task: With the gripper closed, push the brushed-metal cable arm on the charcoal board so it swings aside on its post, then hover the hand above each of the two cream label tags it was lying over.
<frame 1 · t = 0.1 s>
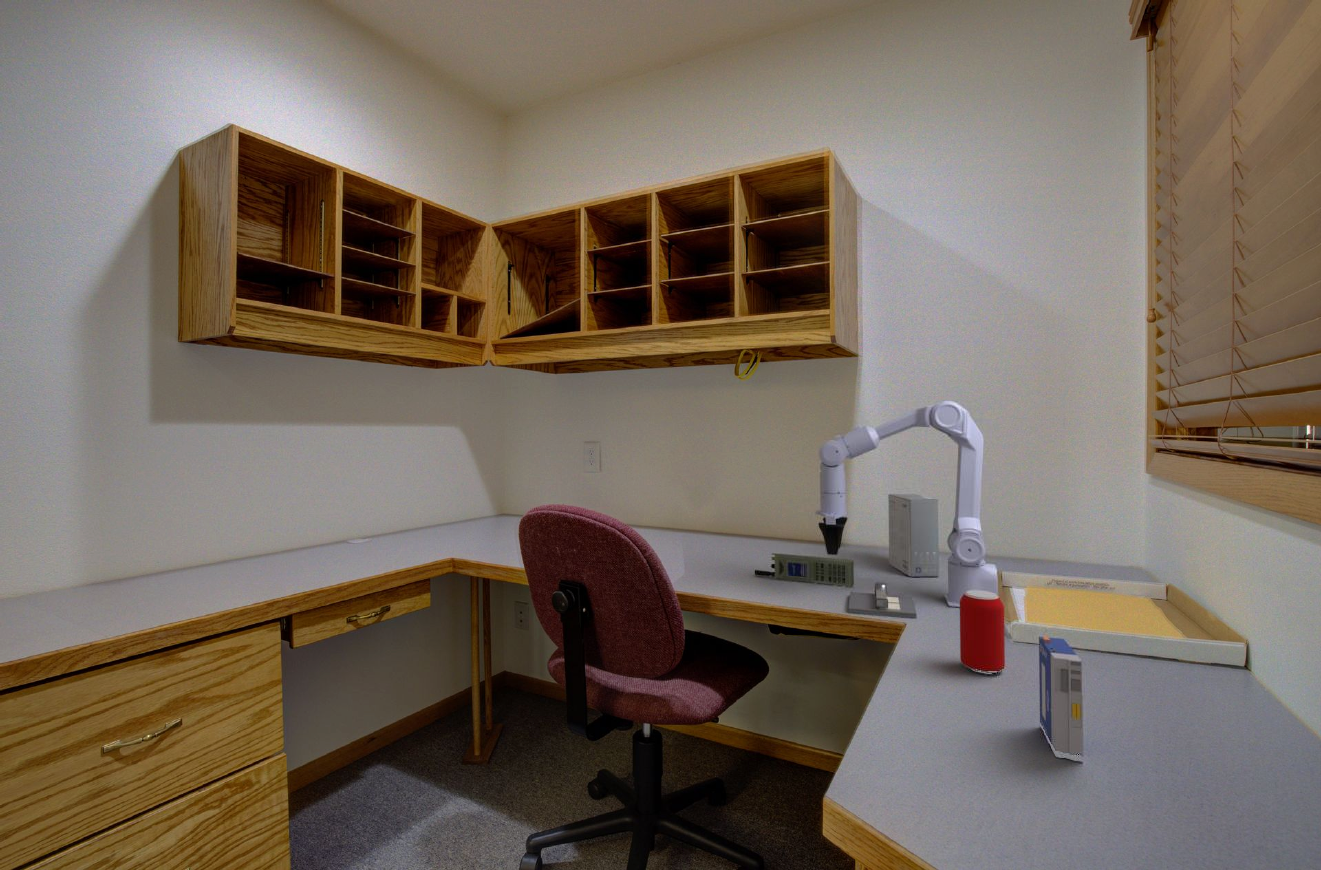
hand: (833, 551, 138), 10 cm above the table, tool pointing down, fingers open, 7 cm apart
cable arm: (881, 594, 128), point 3 cm above the table, hinge at 0.0°
walkman: (1060, 745, 72), on the table
hard drive box: (912, 571, 160), on the table
beverage can: (982, 670, 95), on the table
handheld radio: (802, 582, 151), on the table
label board: (881, 606, 128), on the table
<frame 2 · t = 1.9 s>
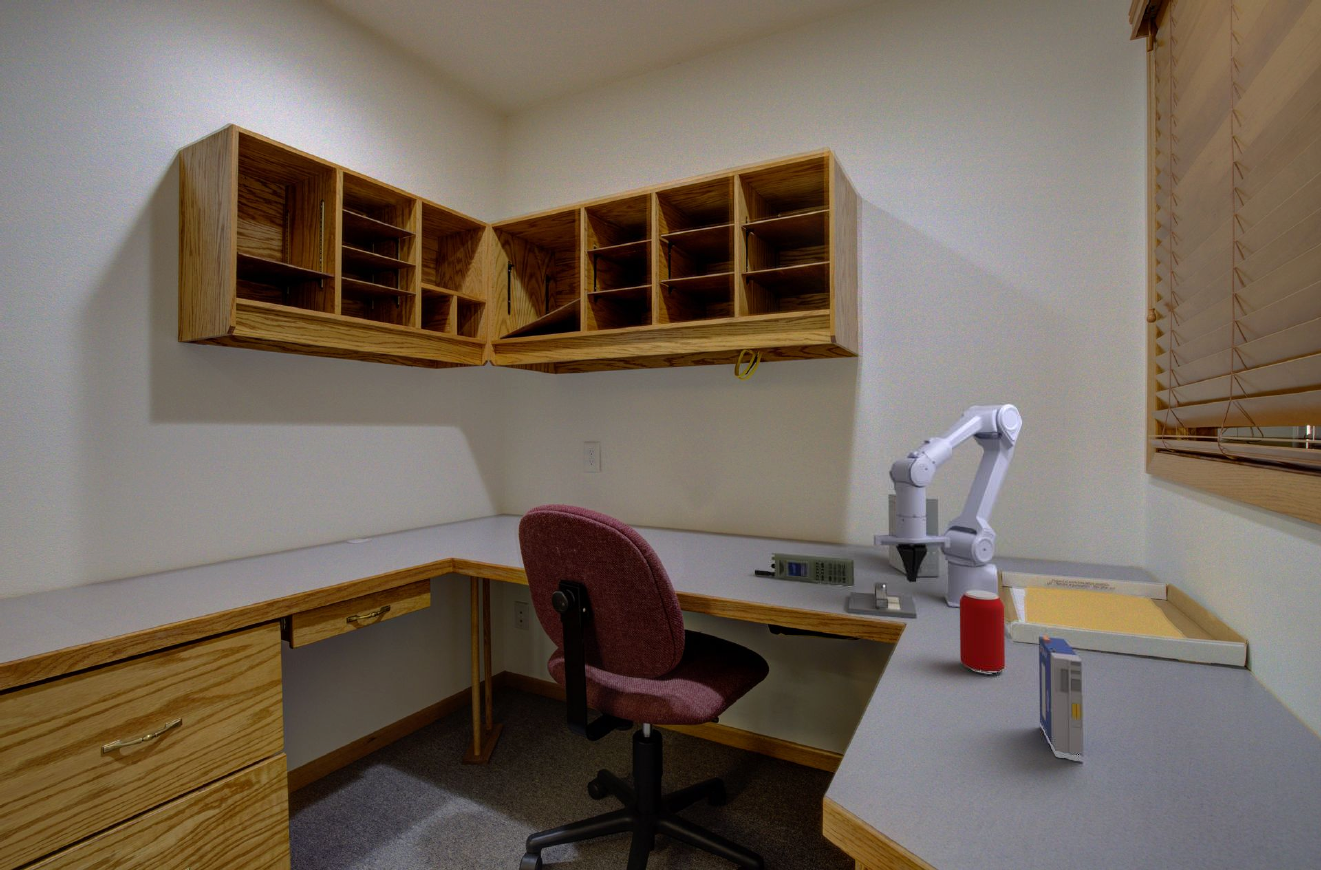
hand: (911, 580, 124), 6 cm above the table, tool pointing down, fingers closed
nothing on the table moved.
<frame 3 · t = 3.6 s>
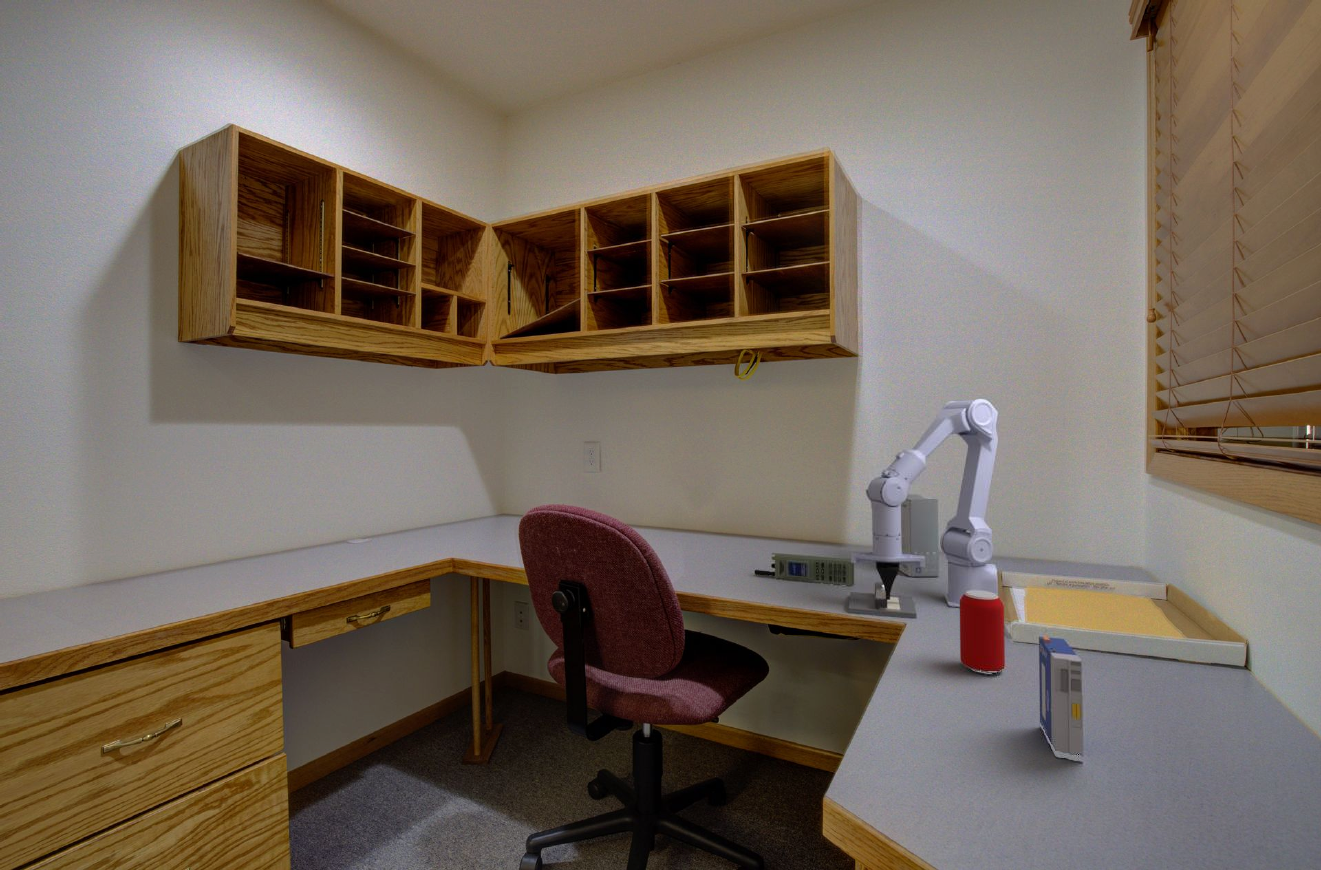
hand: (887, 598, 126), 2 cm above the table, tool pointing down, fingers closed, pressing on cable arm
cable arm: (880, 594, 128), point 3 cm above the table, hinge at -0.9°, touching gripper
everything else where it was.
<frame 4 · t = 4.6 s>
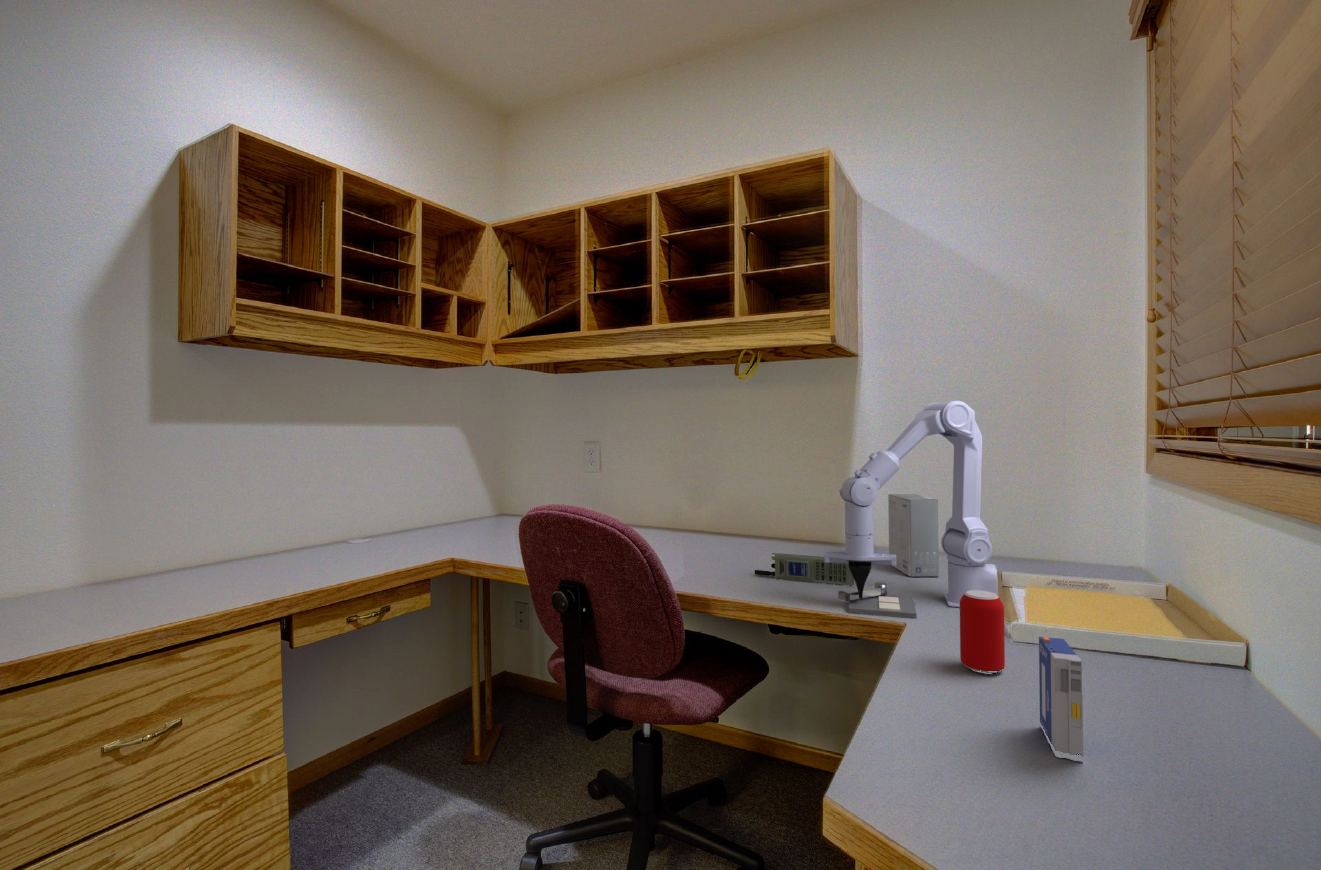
hand: (860, 597, 128), 2 cm above the table, tool pointing down, fingers closed, pressing on cable arm
cable arm: (864, 591, 131), point 3 cm above the table, hinge at -46.1°, touching gripper
everything else where it was.
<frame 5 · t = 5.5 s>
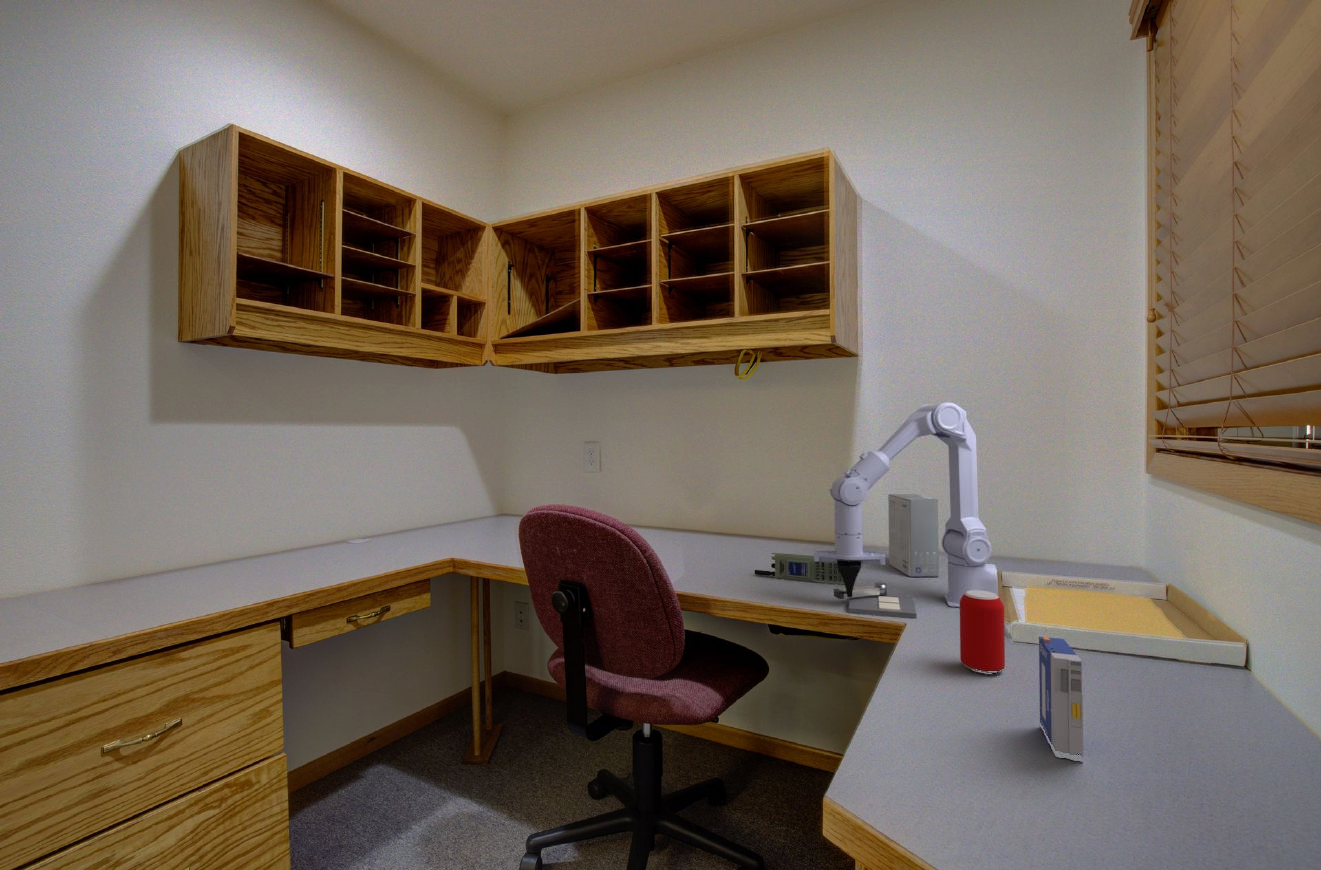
hand: (849, 595, 129), 2 cm above the table, tool pointing down, fingers closed
cable arm: (861, 590, 132), point 3 cm above the table, hinge at -56.3°, touching gripper
everything else where it was.
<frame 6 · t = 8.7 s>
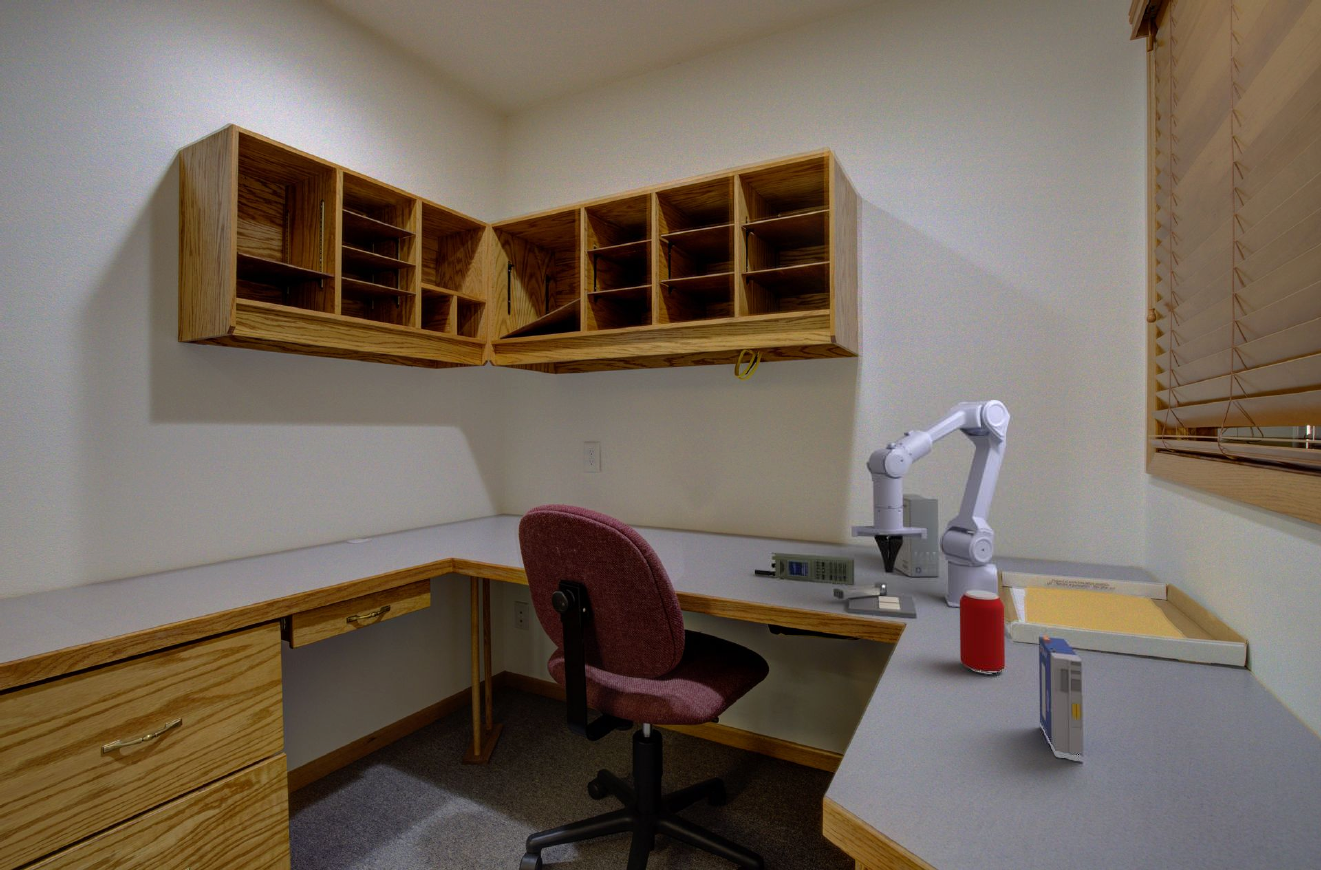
hand: (888, 571, 124), 8 cm above the table, tool pointing down, fingers closed
cable arm: (861, 590, 132), point 3 cm above the table, hinge at -56.8°
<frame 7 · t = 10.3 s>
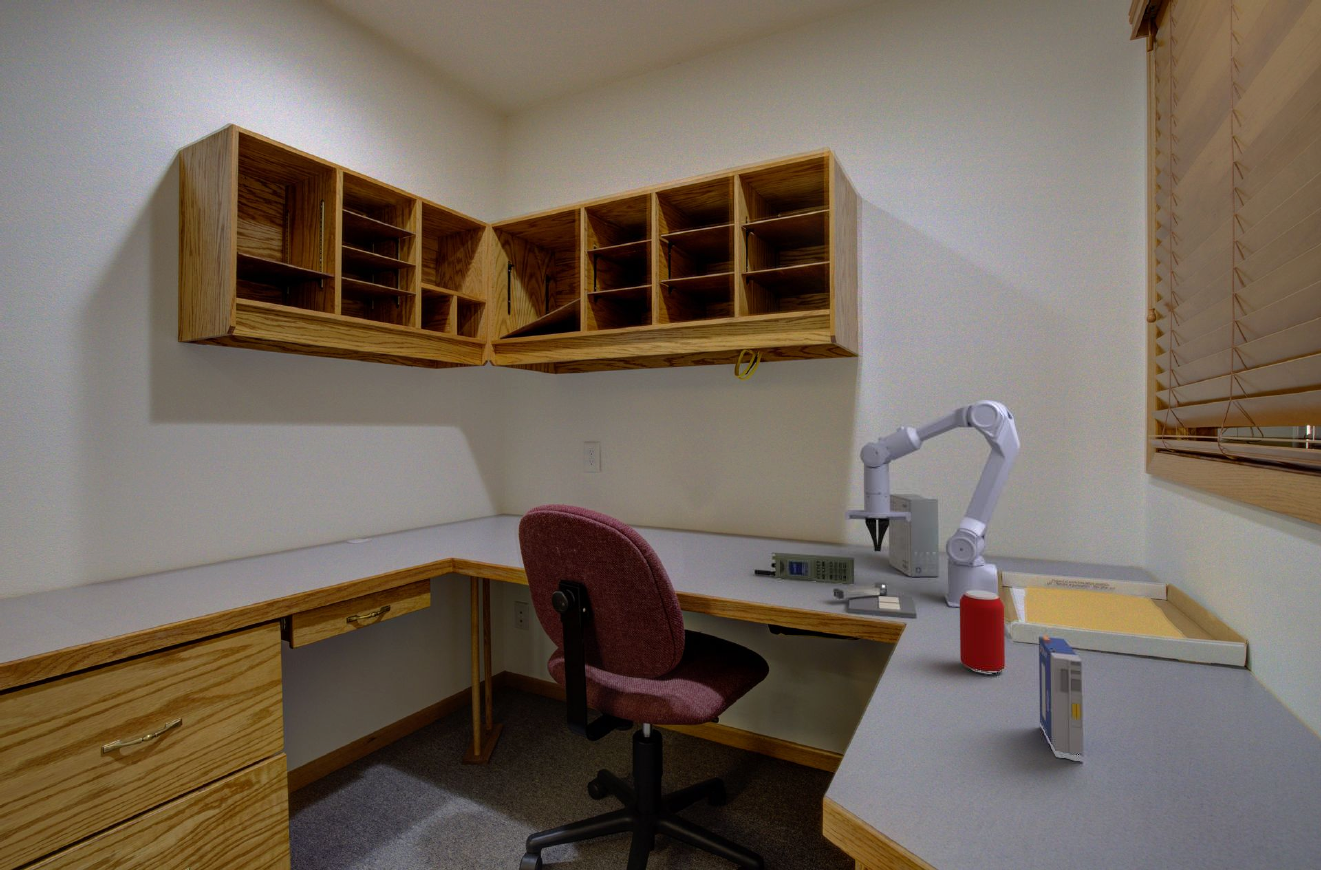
hand: (877, 550, 141), 9 cm above the table, tool pointing down, fingers closed
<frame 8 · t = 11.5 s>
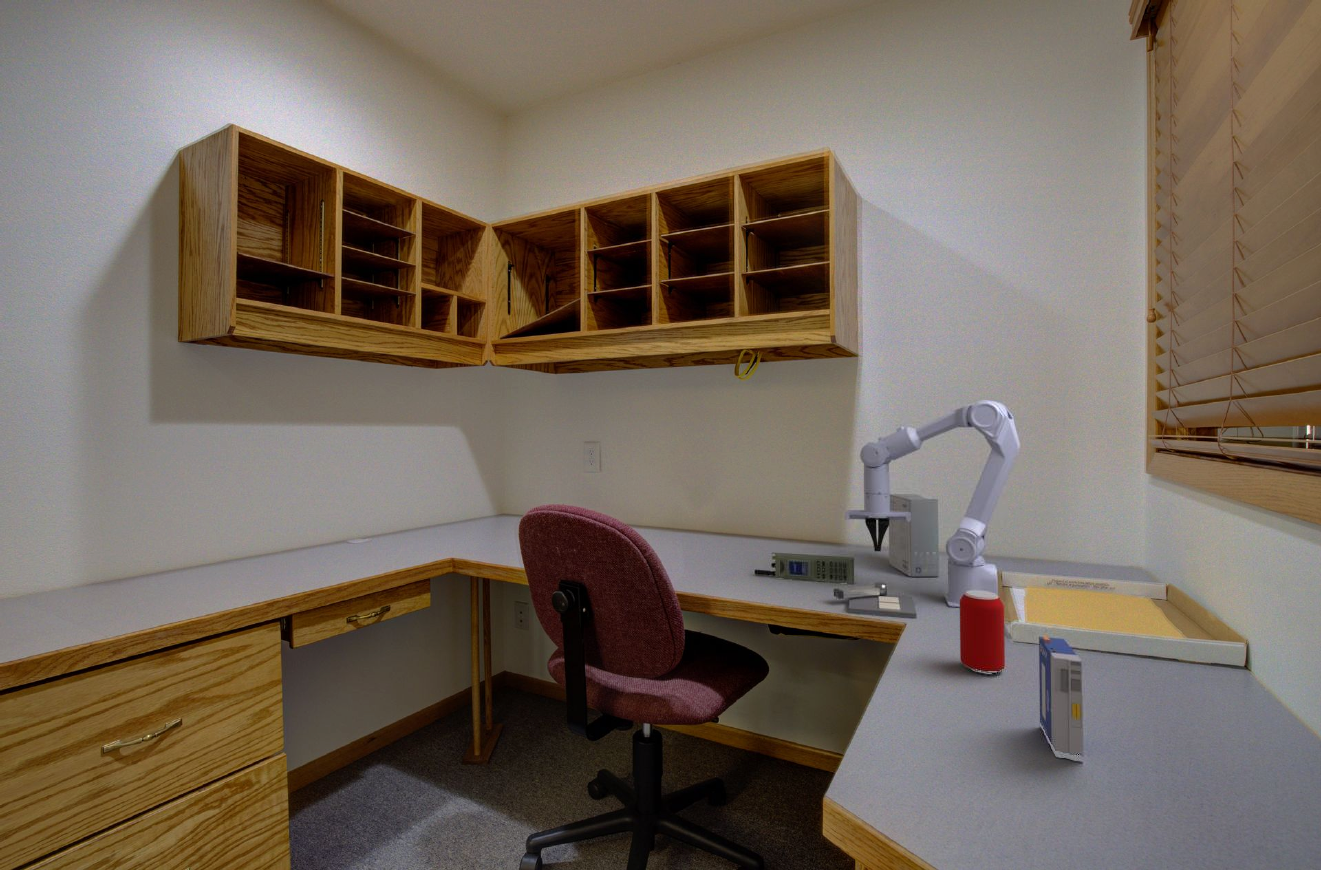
hand: (877, 550, 141), 9 cm above the table, tool pointing down, fingers closed
at the end: cable arm at -57° (first picture: +0°) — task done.
